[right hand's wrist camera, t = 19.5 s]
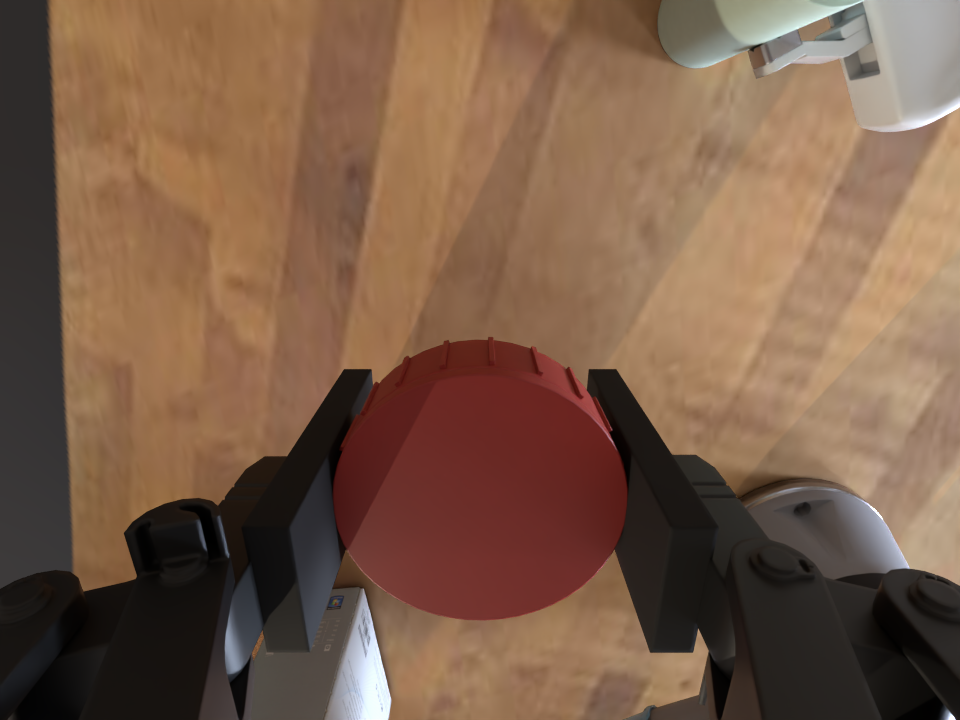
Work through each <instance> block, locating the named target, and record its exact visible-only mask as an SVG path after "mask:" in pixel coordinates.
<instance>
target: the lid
mask: <svg viewBox="0 0 960 720" xmlns="http://www.w3.org/2000/svg"><path fill="white" fill-rule="evenodd" d="M610 431H612V429H611V426H610V424H609V422H608V420H607V418H606V416H605V414H604V412H603V410H602V408H601V406H600V404H599V402H598V400H597V398H596V397H593V398H592V397H591V396H590V394H589V393H588V391H587V390H586V389H585V387H584V386H583V385H582V384H581V383H580V382H579V381H578V379H577V378H576V377H575V375H574V373H573V371H572V369H571V368H570V367H568V368H567V369H565V368H564V367H563V366H562V365H560V364H559V363H557V362H556V361H554V360H552V359H551V358H549V357H547V356H546V355H544V354H541V353H539V352H537V349H536V347H533V346H532V347H531V349H530V348H527V347H523V346H520V345H516V344H513V343H507V342H501V341H495V340H493V337H488V340H468V341H458V342H453V343H449V340H447V341H444V344H443V345H440V346H437V347H434V348H431V349H429V350H426V351H423V352H421V353H419V354H417V355H415V356H413V357H412V358H409V356H407V357H405V358H404V360H403V363H402V364H401V365H399V366H398V367H396V368H395V369H394V370H393V371H391V372H390V373H389V374H388V375H387V376H386V377H385V378H384V379H383V380H382V381H381V382H380V383H378V382H375V384H374V385H373V387H372V389H371V391H370V393H369V395H368V398H367V400H366V402H365V404H364V406H363V408H362V410H361V412H360V415H357V414H356V416H355V418H354V420H353V422H352V424H351V426H350V428H349V430H348V432H347V435H346V437H345V439H344V441H343V443H342V445H341V447H340V451H342V454H341V456H340V459H339V461H338V464H337V467H336V471H335V476H334V480H333V491H332V496H333V505H334V513H335V520H336V526H337V530H338V532H339V535H340V537H341V539H342V542H343V544H344V546H345V548H346V549H347V551H348V553H349V555H350V556H351V558H352V559H353V561H354V562H355V563H356V564H357V566H358V567H359V568H360V569H361V571H362V572H363V573H364V574H365V575H366V576H367V577H368V578H369V579H370V580H371V581H372V582H373V583H375V584H376V585H377V586H379V587H380V588H381V589H383V590H384V591H385V592H386V593H388V594H390V595H391V596H393V597H395V598H396V599H398V600H400V601H402V602H404V603H406V604H408V605H410V606H412V607H415V608H417V609H420V610H423V611H426V612H429V613H432V614H436V615H440V616H444V617H449V618H456V619H464V620H496V619H505V618H511V617H517V616H521V615H525V614H528V613H532V612H535V611H538V610H541V609H543V608H546V607H548V606H551V605H553V604H555V603H557V602H559V601H560V600H562V599H564V598H566V597H568V596H569V595H571V594H572V593H574V592H575V591H577V590H578V589H580V588H581V587H582V586H583V585H584V584H586V583H587V582H588V581H589V580H590V579H591V578H593V577H594V575H595V574H596V573H597V572H598V571H599V570H600V569H601V568H602V567H603V565H604V564H605V563H606V561H607V560H608V558H609V557H610V555H611V554H612V553H613V551H614V549H615V547H616V545H617V543H618V541H619V539H620V537H621V534H622V531H623V527H624V523H625V516H626V508H627V499H628V484H627V477H626V472H625V469H624V464H623V461H622V459H621V456H620V454H619V452H618V450H617V448H616V446H615V444H614V442H613V440H612V438H611V435H610V433H609V432H610Z"/></svg>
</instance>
